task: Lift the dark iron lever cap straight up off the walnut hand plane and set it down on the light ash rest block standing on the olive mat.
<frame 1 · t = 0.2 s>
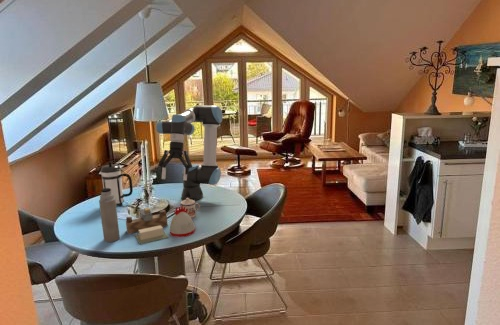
hand: (174, 179, 208), 28 cm above the table, tool tilted 20°, fingers open, 13 cm apart
thermos bottle: (112, 239, 200), on the table
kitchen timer: (182, 232, 207), on the table
coffee press: (116, 204, 254), on the table
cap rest: (151, 236, 201), on the table
lever cap: (146, 218, 211), point 6 cm above the table, touching hand plane
teacup with lid: (191, 215, 229), on the table
hand plane: (147, 228, 212), on the table
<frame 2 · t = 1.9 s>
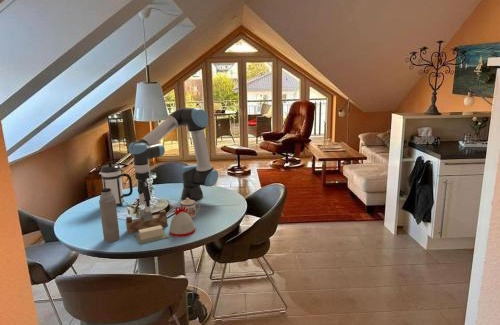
hand: (145, 208, 209), 12 cm above the table, tool pointing down, fingers open, 13 cm apart
nothing on the table moved.
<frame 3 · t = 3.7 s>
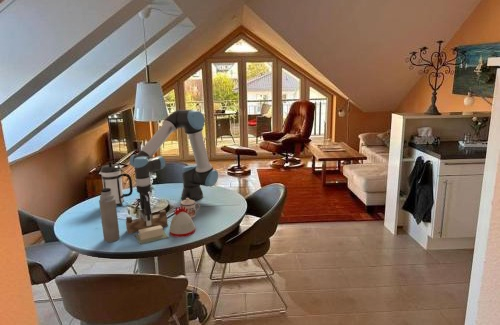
hand: (147, 222, 211), 3 cm above the table, tool pointing down, fingers closed on lever cap, 8 cm apart
lever cap: (146, 218, 211), point 6 cm above the table, touching gripper, hand plane
everything else where it was.
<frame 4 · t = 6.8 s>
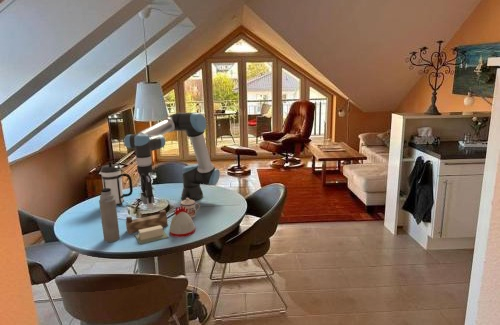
hand: (148, 206, 197), 18 cm above the table, tool pointing down, fingers closed on lever cap, 8 cm apart
lever cap: (147, 201, 196), point 20 cm above the table, touching gripper
everything else where it was.
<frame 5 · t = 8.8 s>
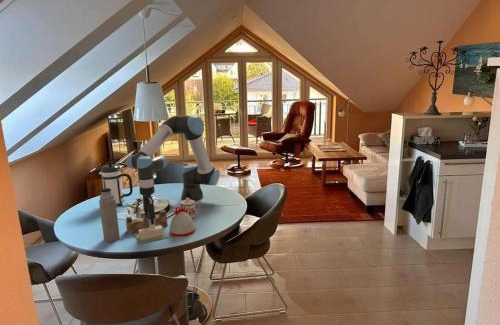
hand: (150, 226, 199), 6 cm above the table, tool pointing down, fingers closed on lever cap, 8 cm apart
lever cap: (149, 221, 199), point 9 cm above the table, touching gripper
everything else where it was.
when the fingers open (3 cm above the table, at t = 10.3 s): lever cap drops 2 cm, resting on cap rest.
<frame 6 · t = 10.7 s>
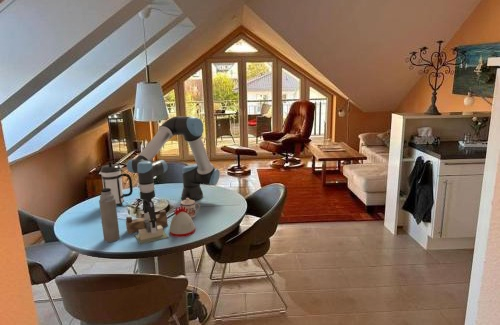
hand: (150, 228, 199), 5 cm above the table, tool pointing down, fingers open, 13 cm apart
lever cap: (150, 228, 200), point 5 cm above the table, touching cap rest
everything else where it was.
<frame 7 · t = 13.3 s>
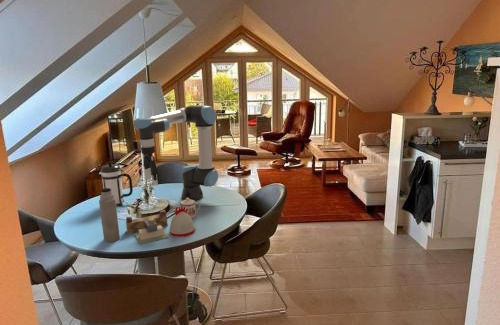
hand: (151, 182, 212), 25 cm above the table, tool pointing down, fingers open, 13 cm apart
nothing on the table moved.
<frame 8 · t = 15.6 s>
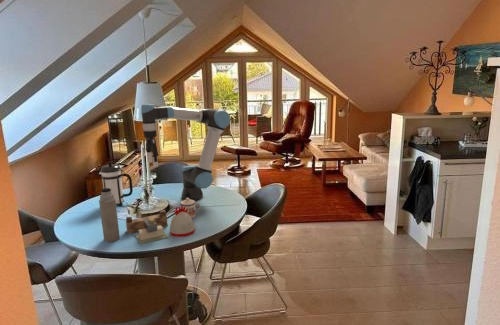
hand: (152, 164, 227), 32 cm above the table, tool pointing down, fingers open, 13 cm apart
nothing on the table moved.
at the end: lever cap inside the target area on the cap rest (0.0 cm from its centre), point 4.6 cm above the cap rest's base; lever cap tilted 0°; the gripper is holding nothing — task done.
